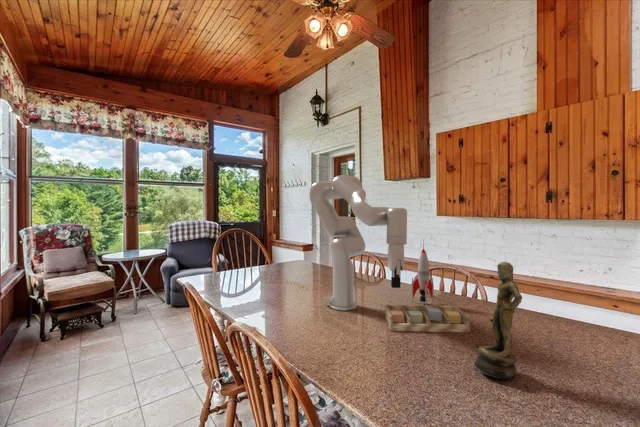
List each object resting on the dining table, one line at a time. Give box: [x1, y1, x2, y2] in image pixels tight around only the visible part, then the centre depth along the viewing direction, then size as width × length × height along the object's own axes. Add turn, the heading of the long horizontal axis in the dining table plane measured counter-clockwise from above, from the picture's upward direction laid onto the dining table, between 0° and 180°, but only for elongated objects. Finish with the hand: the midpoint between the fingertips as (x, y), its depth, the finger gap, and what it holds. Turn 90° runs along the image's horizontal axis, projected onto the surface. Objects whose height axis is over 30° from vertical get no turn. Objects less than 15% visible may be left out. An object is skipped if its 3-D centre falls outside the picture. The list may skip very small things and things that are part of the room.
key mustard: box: [445, 311, 461, 323], centre depth 117 cm, size 4×4×3 cm
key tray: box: [384, 304, 471, 333], centre depth 118 cm, size 28×14×5 cm, turn 86°
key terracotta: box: [390, 311, 404, 323], centre depth 119 cm, size 4×4×3 cm
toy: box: [411, 239, 434, 306], centre depth 141 cm, size 10×9×30 cm
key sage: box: [408, 311, 423, 323], centre depth 118 cm, size 4×4×3 cm
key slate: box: [427, 308, 442, 320], centre depth 118 cm, size 4×4×3 cm
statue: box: [474, 261, 523, 380], centre depth 82 cm, size 11×11×30 cm
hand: (395, 287), depth 119 cm, fingers closed
